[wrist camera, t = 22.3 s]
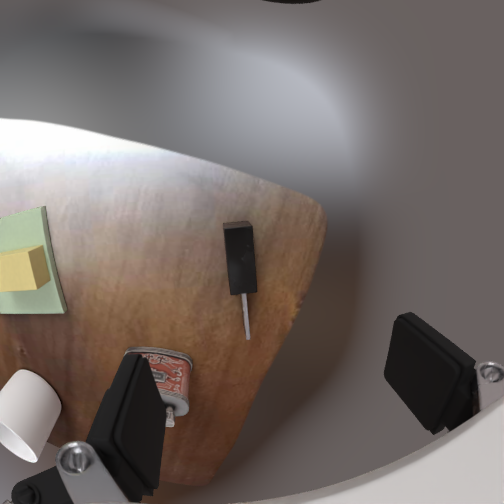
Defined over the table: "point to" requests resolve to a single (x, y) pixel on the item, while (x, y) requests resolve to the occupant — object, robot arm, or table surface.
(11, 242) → the butter plate
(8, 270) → the butter
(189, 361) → the lighter
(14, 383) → the mug
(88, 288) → the table surface
